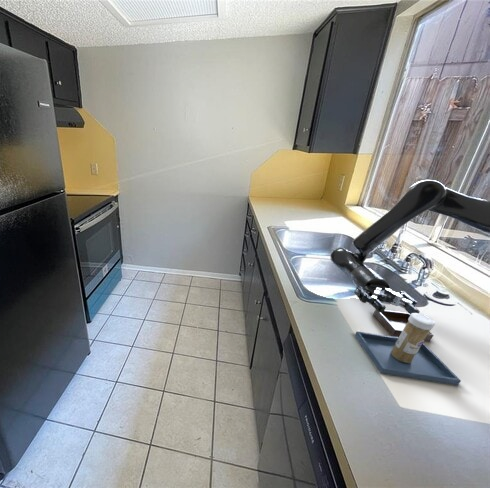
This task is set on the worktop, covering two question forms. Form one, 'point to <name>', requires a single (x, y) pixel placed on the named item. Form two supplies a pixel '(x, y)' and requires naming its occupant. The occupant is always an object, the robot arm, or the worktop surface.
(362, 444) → the worktop surface
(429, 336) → the bin
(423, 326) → the sprinkles bottle
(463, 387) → the worktop surface
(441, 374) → the tray
